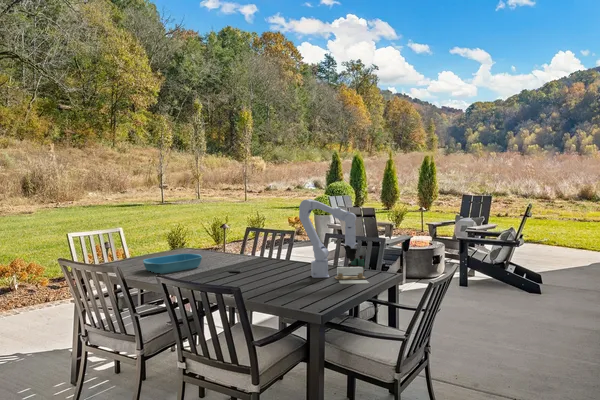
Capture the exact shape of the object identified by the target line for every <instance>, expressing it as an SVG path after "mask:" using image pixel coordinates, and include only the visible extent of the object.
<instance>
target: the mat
mask: <svg viewBox="0 0 600 400" xmlns="http://www.w3.org/2000/svg"><path fill="white" fill-rule="evenodd" d="M338 282H339V284H340V285H362V284H363V285H365V284H366V285H369V284H370V282H369V281H368V280H367V279H342V280H338Z"/></svg>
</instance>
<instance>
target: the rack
mask: <svg viewBox="0 0 600 400" xmlns="http://www.w3.org/2000/svg"><path fill="white" fill-rule="evenodd" d="M334 278H335V280H366V277H365V276H364V273H363V274H359V275H343V274H339V275H337V276H334Z"/></svg>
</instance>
